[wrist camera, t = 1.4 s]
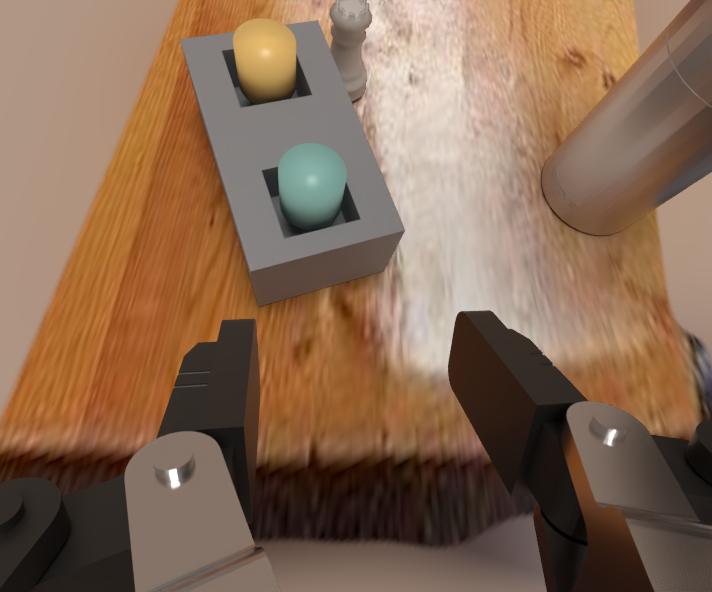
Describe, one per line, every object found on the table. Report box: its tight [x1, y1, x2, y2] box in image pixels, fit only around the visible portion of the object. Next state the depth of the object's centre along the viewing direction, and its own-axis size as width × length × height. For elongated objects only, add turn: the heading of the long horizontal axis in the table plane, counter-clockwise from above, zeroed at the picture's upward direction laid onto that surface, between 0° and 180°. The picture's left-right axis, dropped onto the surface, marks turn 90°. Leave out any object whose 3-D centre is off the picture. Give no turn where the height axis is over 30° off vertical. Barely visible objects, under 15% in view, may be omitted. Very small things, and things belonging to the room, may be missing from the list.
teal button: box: [278, 143, 347, 230], centre depth 27 cm, size 4×4×4 cm
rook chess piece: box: [330, 0, 372, 102], centre depth 36 cm, size 4×4×8 cm
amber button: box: [233, 18, 296, 105], centre depth 30 cm, size 4×4×4 cm
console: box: [180, 20, 405, 307], centre depth 33 cm, size 10×18×7 cm, turn 20°
